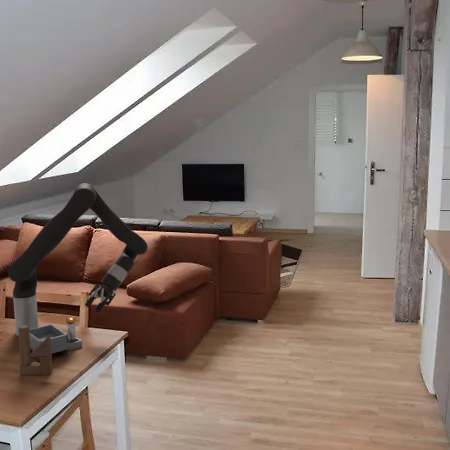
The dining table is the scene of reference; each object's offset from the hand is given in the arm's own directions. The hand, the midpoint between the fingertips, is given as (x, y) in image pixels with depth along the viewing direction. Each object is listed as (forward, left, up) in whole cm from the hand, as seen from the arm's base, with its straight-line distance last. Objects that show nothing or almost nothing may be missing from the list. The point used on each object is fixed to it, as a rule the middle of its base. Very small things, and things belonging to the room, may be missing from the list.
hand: (91, 309), depth 216 cm
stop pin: (0, -9, -14) cm, 17 cm away
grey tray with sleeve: (0, -16, -14) cm, 21 cm away
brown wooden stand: (+14, -30, -14) cm, 36 cm away
